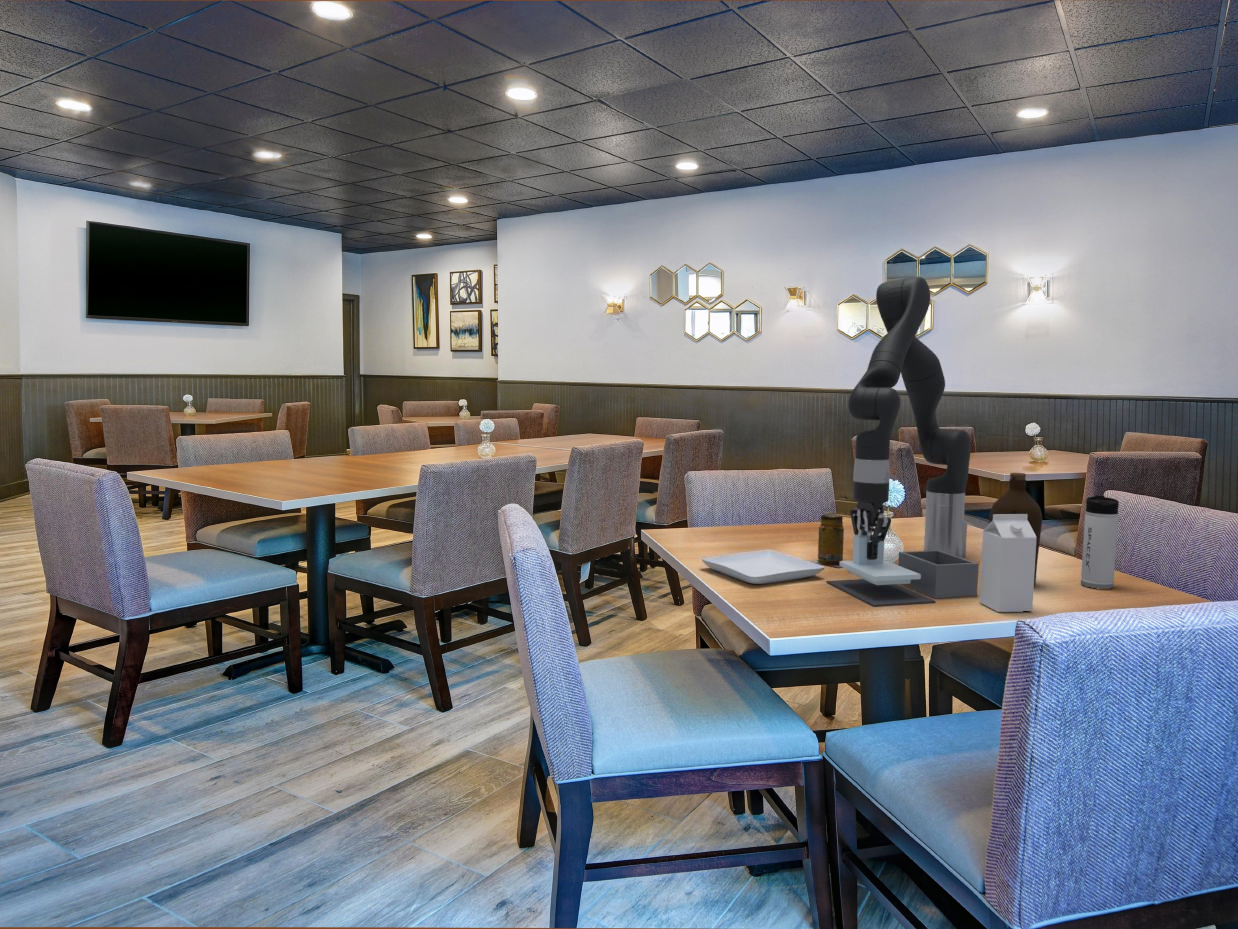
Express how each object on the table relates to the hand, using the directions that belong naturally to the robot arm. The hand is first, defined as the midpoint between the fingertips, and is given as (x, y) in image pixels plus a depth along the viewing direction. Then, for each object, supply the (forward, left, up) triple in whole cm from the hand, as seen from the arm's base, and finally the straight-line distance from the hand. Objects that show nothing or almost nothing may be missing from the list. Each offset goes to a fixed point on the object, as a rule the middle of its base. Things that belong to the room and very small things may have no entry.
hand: (868, 557), depth 178 cm
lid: (0, +4, -3) cm, 6 cm away
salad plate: (+18, -17, -7) cm, 25 cm away
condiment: (-4, -24, -7) cm, 25 cm away
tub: (-14, +4, -7) cm, 16 cm away
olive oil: (-34, +3, -7) cm, 35 cm away
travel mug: (-51, +10, -7) cm, 52 cm away
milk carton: (-19, +21, -7) cm, 29 cm away
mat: (0, +4, -7) cm, 8 cm away
